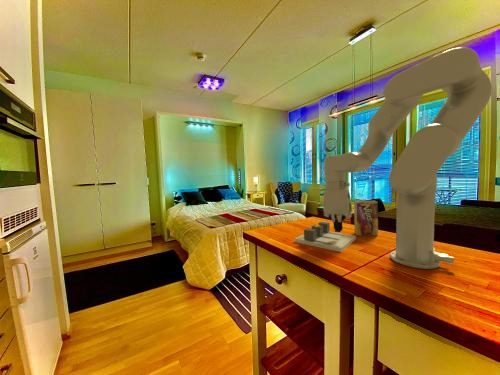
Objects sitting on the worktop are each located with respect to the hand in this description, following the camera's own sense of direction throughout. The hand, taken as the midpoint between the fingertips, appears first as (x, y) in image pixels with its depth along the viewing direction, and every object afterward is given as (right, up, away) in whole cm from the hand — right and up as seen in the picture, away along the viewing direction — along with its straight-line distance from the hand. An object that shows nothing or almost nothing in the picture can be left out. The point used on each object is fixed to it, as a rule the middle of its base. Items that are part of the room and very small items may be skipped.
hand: (338, 231), depth 87 cm
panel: (-4, -5, +4) cm, 7 cm away
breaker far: (-2, -2, +11) cm, 12 cm away
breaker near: (-11, -4, +1) cm, 12 cm away
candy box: (+17, -4, +11) cm, 21 cm away
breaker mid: (-6, -3, +6) cm, 9 cm away
